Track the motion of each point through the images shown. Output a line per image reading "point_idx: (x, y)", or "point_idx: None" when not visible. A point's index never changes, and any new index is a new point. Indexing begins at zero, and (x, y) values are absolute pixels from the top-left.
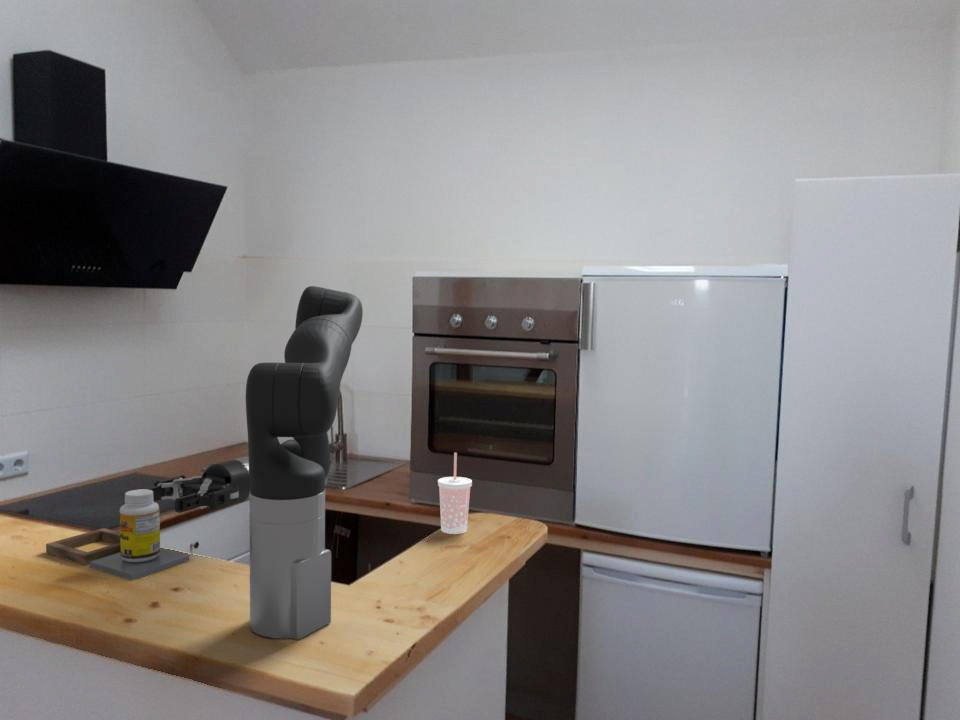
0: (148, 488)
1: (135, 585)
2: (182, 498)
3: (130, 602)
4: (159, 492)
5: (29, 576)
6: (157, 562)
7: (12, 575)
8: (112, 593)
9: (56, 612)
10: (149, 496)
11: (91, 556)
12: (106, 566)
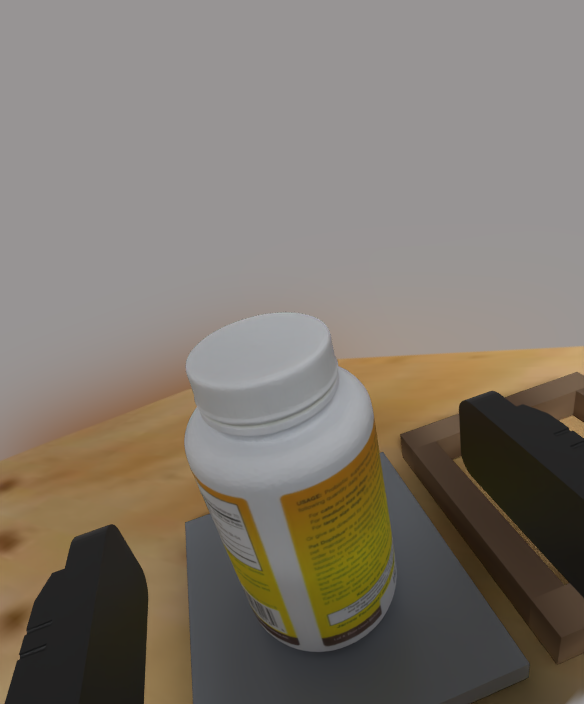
0: (530, 428)
1: (150, 532)
2: (68, 565)
3: (71, 502)
4: (576, 539)
5: (389, 377)
6: (225, 619)
7: (414, 358)
8: (154, 482)
9: (161, 406)
10: (191, 385)
11: (410, 453)
12: None
